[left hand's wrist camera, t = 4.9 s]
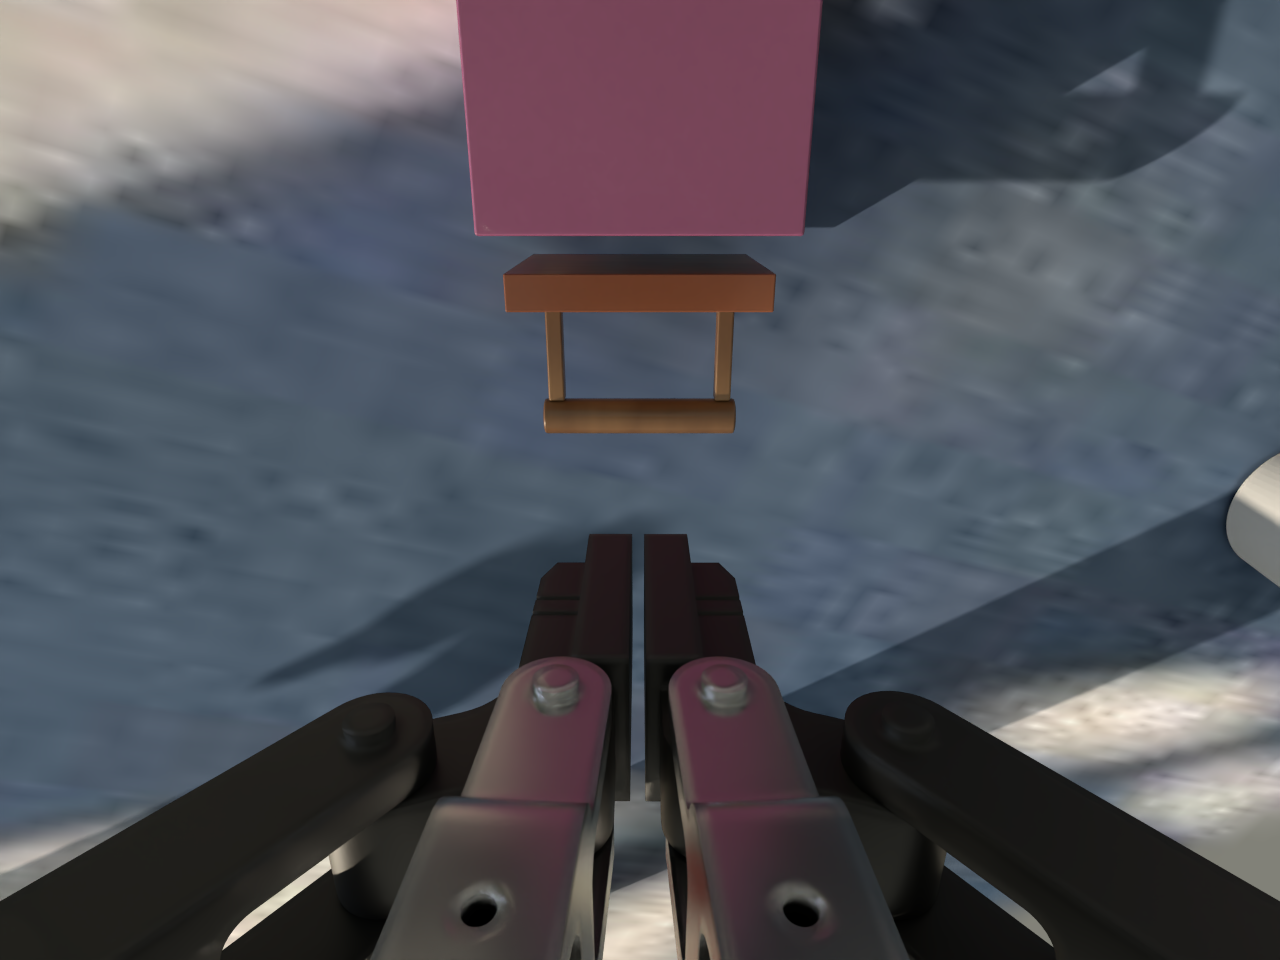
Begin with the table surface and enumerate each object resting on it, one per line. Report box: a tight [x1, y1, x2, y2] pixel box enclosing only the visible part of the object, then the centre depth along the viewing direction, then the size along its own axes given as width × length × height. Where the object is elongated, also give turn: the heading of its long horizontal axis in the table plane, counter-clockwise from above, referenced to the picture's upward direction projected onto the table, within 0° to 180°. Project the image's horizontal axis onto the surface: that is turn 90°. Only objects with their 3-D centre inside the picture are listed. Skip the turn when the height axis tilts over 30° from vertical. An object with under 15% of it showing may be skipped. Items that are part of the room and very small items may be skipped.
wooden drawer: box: [503, 254, 776, 433], centre depth 24 cm, size 25×9×7 cm, turn 0°
